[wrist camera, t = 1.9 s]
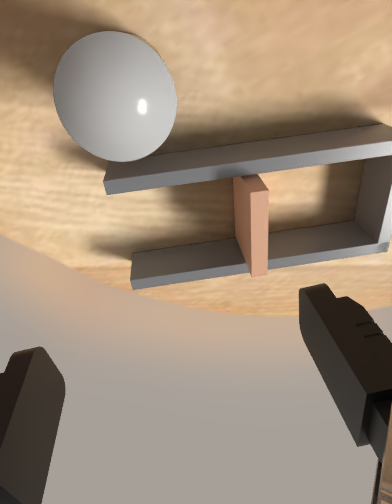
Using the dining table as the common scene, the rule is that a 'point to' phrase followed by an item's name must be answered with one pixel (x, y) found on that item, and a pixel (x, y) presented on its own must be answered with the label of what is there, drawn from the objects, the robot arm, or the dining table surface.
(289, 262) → the lane
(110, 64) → the jar
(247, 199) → the block
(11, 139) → the dining table surface
